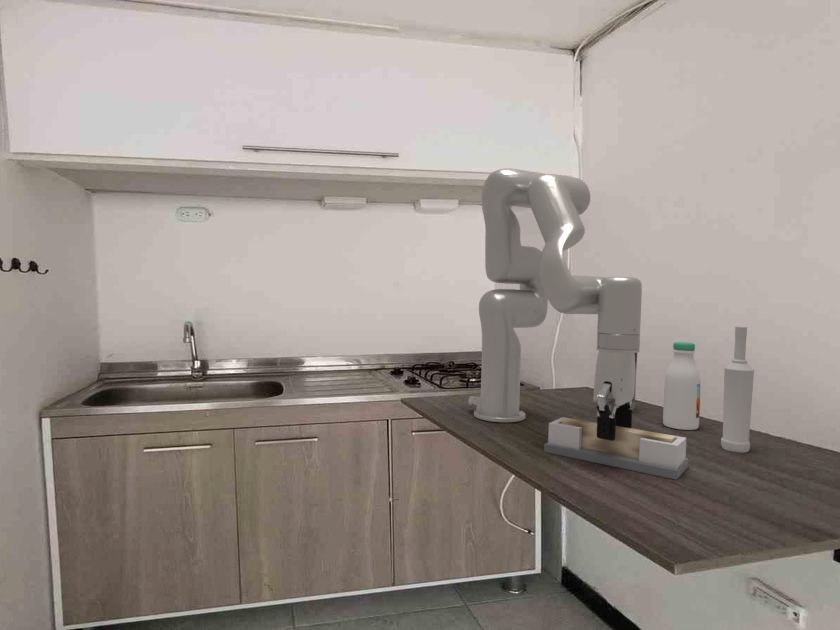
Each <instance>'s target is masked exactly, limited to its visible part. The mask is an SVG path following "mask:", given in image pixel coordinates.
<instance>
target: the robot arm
mask: <svg viewBox="0 0 840 630" xmlns="http://www.w3.org/2000/svg"><path fill="white" fill-rule="evenodd" d="M480 200H481V209H482V210H481V211H482V215H483V220H484V227H485V230H484V231H485V232H484V233H485V234H484V235H485V237H484V239H485V242H484V243H485V244H484V250H485V251H484V252H485V253H484V254H485V255H484V257H485V258H484V261H485V262H484V264H485V274H486V277H487V279H488V280H489V281H491V282H493V283H496V284H506V285H507V284H509V285H519V289H515V288H513V289H512V288H498V289H497V288H495V289H490V290H489V291H487V292H485V293H484V294H483V295H482V296H481V298H480V299H479V303H478V314H479V319H480V321H479V322H480V326H481V374H480V377H481V378H480V380H481V381H480V396H475V395H474V396H473V395H470V396H469V397H468V401H467V404H468V405H472V406H475V407H476V409H475V410H473V416H474V417H475V418H477V419H479V420H483V421H485V422H486V421H487V422H492V423H515V422H516V423H517V422H521V421H524V420H525V419H526V413H525V411H523V410H520V395H521V394H520V393H521V392H520V390H521V363H522V361H521V360H522V354H521V353H522V352H521V351H522V347H521V346H522V345H521V342H520V338H519V337H518V334H517V333H516V331H515V329H518V328H519V329H520V328H523V329H524V328H525V329H526V328H537V327H539V326H540V325H542V324H543V323H544V321H545V320H546V318H547V313H548V306H549V305H548V304H549V303H550V305H551V306H552V308H553V309H554V310H556V311H557V312H558V313H561V314H564V315H565V314H566V315H597V326H596V327H597V328H596V329H597V330H596V351H598V354H597V358H596V363H595V374H594V385H593V397H592V401H593V403H595V404H597V406H596V409H597V412H596V416H597V417H596V418H597V419H596V421H597V422H596V423H597V438H600V439H605V440H611V441H614V440H615V433H616V426H619V427H625V428H631V429H633V428H632V427H633V426H632V425H633V423H632V422H633V410H631V409H632V407H633V404H632V399H633V397H634V390H635V353H637V354H638V353H640V347H641V345H640V344H641V321H642V320H641V317H642V316H641V315H642V295H643V293H642V292H643V285H642V281H641V280H640V279H638V278H637V277H631V276H607V277H605V276H591V275H590V276H589V275H576V274H575V275H572V274H571V272H570V269H569V268H568V265H567V263H566V260H565V255H564V251H567V250H569V249H571V248H572V247H574V246H576V245H577V244H578V243H579V242H580V241H581V240H582V239H583V237H584V235H585V233H586V231H585V230H586V228H585V226H584V223H583V221H582V219H581V217H580V215H582V214H584V213H585V212H586V211H587V210H588V207H589V205H590V203H591V191H590V189H589V186H588V185H587V184H586V182H585V181H584V180H583V179H581V178H578V177H574V176H567V175H566V176H565V175H560V174H554V173H544V172H543V173H542V172H537V171H531V170H524V169H518V168H500V169H496V170H494V171H492V172H490V173H489V175H488V176H487V177H486V180H485V181H484V184H483V186H482V191H481V199H480ZM512 207H518V208H519V207H520V208H527V209H531V210H532V214H533V216H534V218H535V221H536V223H537V226H538V228H539V231H540V233H541V235H542V239H543V241H544V246H543V249H542V250H541V249H539V248H538V247H534V246H529V245H528V246H526V245H522V243H521V226H520V222H519V219H518V217H517V215H516V214H515V212H514V210H513V209H512ZM609 407H611V410H610V409H609ZM617 407H619V408H617Z"/></svg>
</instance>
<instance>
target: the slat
mask: <svg viewBox="0 0 840 630" xmlns="http://www.w3.org/2000/svg"><path fill="white" fill-rule="evenodd" d="M566 418H567V419H565V420H562V424H565V425H571V426H577V427H582V437H581V447H583V448H588V449H593V450H598V451H603V452H608V453H613V454H618V455H623V456H629V457H634V458H639V448H640V439H641V438H646V439H651V440H657V441H663V442H669V443H672V442H674V441H675V436H676V435H673V434H666V433H660V432H653V431H650V430H649V431H648V430H642V429H636V428H625V427H619V426H616V433H615V440H614V441H611V440H605V439H600V438H597V422H594V421H589V420H588V421H587V420H583V419H578V418H569V417H566Z"/></svg>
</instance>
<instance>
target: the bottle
mask: <svg viewBox="0 0 840 630" xmlns="http://www.w3.org/2000/svg"><path fill="white" fill-rule="evenodd" d="M734 328H735V329H734V350H733V351H734V352H733V353H734V354H733V359H731V362H730V363H728V364H727V365H726V366H724V369H723V370H724V371H723V373H724V374H723V375H724V377H723V378H724V380H723V408H722V409H723V410H722V411H723V416H722V418H723V419H722V437H721V438H720V445H721V448H722V449H723V450H725V451H728V452H733V453H740V454H741V453H742V454H744V453H748V452H749V451H750V449H751V442H750V431H751V429H750V428H751V419H752V418H751V415H752V406H753V405H752V403H753V389H754V388H753V387H754V375H755V369H753V367H751V365H749V363H748V361H747V360H746V351H747V334H748V327H746V326H734Z"/></svg>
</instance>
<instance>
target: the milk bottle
mask: <svg viewBox="0 0 840 630" xmlns="http://www.w3.org/2000/svg"><path fill="white" fill-rule="evenodd" d="M672 344H673V345H672V347H673V356H672V360H671V362H670V364H669V366H668V368H667V370H666V373H665V376H664V386H663V387H664V388H663V389H664V391H663V409H662V411H663V412H662V423H663V425H664V426H665V427H668V428H671V429H677V430H682V431H695V430H697V429H698V428H699V426H700V414H701V413H700V412H701V411H700V408H701V407H700V406H701V375H700V371H699V368H698V367H697V364H696V361H695V358H694V354H695V349H696V344H695V343H694V342H688V341H687V342H685V341H684V342H683V341H677V342H676V341H675V342H673V343H672Z"/></svg>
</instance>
